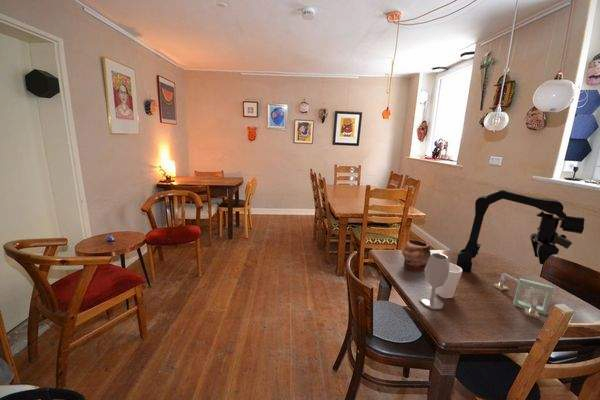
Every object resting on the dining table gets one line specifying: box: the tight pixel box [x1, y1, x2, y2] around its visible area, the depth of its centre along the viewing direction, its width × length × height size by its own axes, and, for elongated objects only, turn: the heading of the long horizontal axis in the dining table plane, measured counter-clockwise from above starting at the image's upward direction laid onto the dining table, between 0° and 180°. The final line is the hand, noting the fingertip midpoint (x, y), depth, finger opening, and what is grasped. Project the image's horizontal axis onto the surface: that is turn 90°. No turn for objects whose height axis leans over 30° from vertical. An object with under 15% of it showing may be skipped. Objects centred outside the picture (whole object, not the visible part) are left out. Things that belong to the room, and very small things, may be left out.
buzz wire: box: [492, 272, 540, 320], centre depth 112 cm, size 5×25×9 cm, turn 173°
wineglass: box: [418, 252, 450, 310], centre depth 105 cm, size 9×9×21 cm
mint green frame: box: [512, 277, 554, 316], centre depth 106 cm, size 10×3×12 cm, turn 57°
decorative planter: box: [401, 239, 432, 273], centre depth 137 cm, size 20×12×14 cm, turn 126°
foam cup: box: [435, 262, 463, 299], centre depth 113 cm, size 10×9×13 cm
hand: (538, 260), depth 119 cm, fingers open, 9 cm apart
